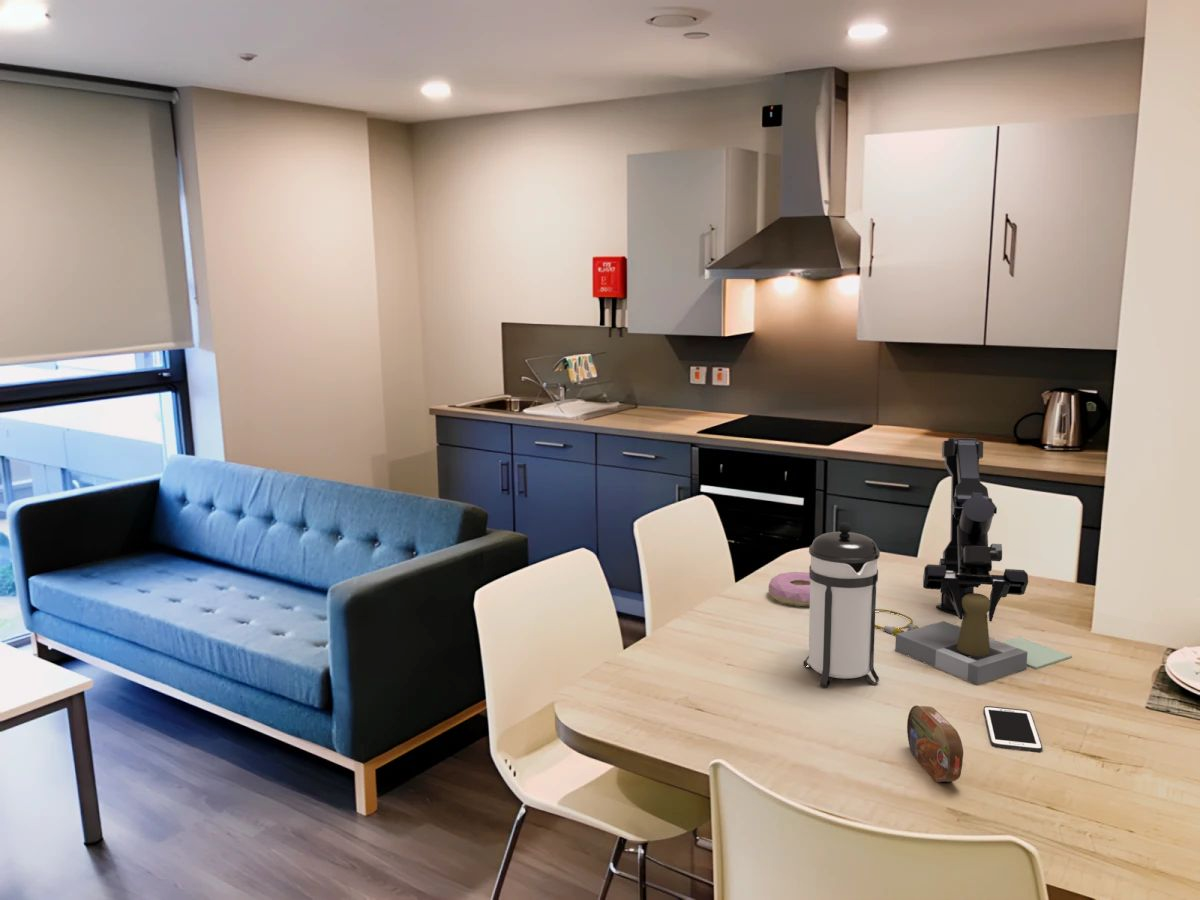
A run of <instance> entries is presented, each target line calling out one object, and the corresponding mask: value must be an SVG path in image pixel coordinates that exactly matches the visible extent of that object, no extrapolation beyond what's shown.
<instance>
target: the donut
mask: <svg viewBox="0 0 1200 900" xmlns="http://www.w3.org/2000/svg"><path fill="white" fill-rule="evenodd" d="M768 593H769V595H770V597H771V598H773V599H775V600H776V601H778V602H779V603H781V604H782V603H783V604H782V605H786V604H789V605H788V606H793V605H796V606H795V607H799V606H807V607H810V577H809V572H806V571H791V572H790V571H789V572H784V573H783V572H782V573H779V574H776V575H775V576H773V577H772V578H771V580H770V581H769V583H768Z"/></svg>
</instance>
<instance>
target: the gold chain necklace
mask: <svg viewBox="0 0 1200 900" xmlns="http://www.w3.org/2000/svg"><path fill="white" fill-rule="evenodd" d="M875 611H879V612H890V613H889V614H891V613H894V614H893V615H896V614H899V615H902V616H904V617H906V618H908V619H910V620H911V621H910V620H909V623H908V624H907V625H905V626H902V627H895V626H887V625H885V626H880V625H877V624H875V627H877V628H876V629H879V628H882V629H881V630H883V632H885V631H886V632H885V633H887V632H888V633H887V634H889V633H890V634H889V635H891V634H893V635H892V636H895V635H896V634H898V633H901V632H905V631H904V629H906V628H907V629H908V631H909V630H913V629H916V628H920V627H919V626H918V625H915V624H913V621H914V620H913V619H912V617H909V616H907V615H906V614H903V613H900V612H897V611H894V610H889V609H883V608H878V609H877V608H875ZM879 612H878V613H879ZM899 615H898V616H899ZM902 616H901V617H902ZM904 617H903V618H904ZM906 618H905V619H906ZM908 619H907V620H908ZM905 627H906V628H905ZM898 628H899V629H898ZM900 628H904V629H900Z"/></svg>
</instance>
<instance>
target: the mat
mask: <svg viewBox="0 0 1200 900" xmlns="http://www.w3.org/2000/svg"><path fill="white" fill-rule="evenodd" d="M1001 642H1002V643H1005V644H1008V645H1010V646H1013V647H1016V648H1018V649H1021V650H1024V651H1027V667H1030V668H1032V669H1034V670H1038V669H1041V668H1045V667H1047V666H1050V665H1053V664H1056V663H1059V662H1062V661H1065V660H1068V659H1071V658H1073V655H1071V654H1069V653H1065V652H1063V651H1060V650H1057V649H1054V648H1052V647H1049V646H1046V645H1043V644H1041V643H1037V642H1035V641H1032V640H1030V639H1027V638H1025V637H1021V636H1017V637H1014V638H1011V639H1009V640H1004V641H1001Z"/></svg>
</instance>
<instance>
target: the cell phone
mask: <svg viewBox="0 0 1200 900" xmlns="http://www.w3.org/2000/svg"><path fill="white" fill-rule="evenodd" d="M983 715H984V718H985V724H986V730H987V734H988V738H989V743H990V745H991V747H993V748H995V749H997V748H998V749H1006V750H1020V751H1023V752H1032V753H1042V752H1043V744H1042V741H1041V737H1040V734H1039V731H1038V729H1037V726H1036V724H1035V720H1034V718H1033V717H1034V716H1033V714H1032V712H1031V711H1030V710H1028V709H1020V708H1012V707H1011V708H1010V707H999V706H991V705H986V706H985V705H984V707H983Z"/></svg>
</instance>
